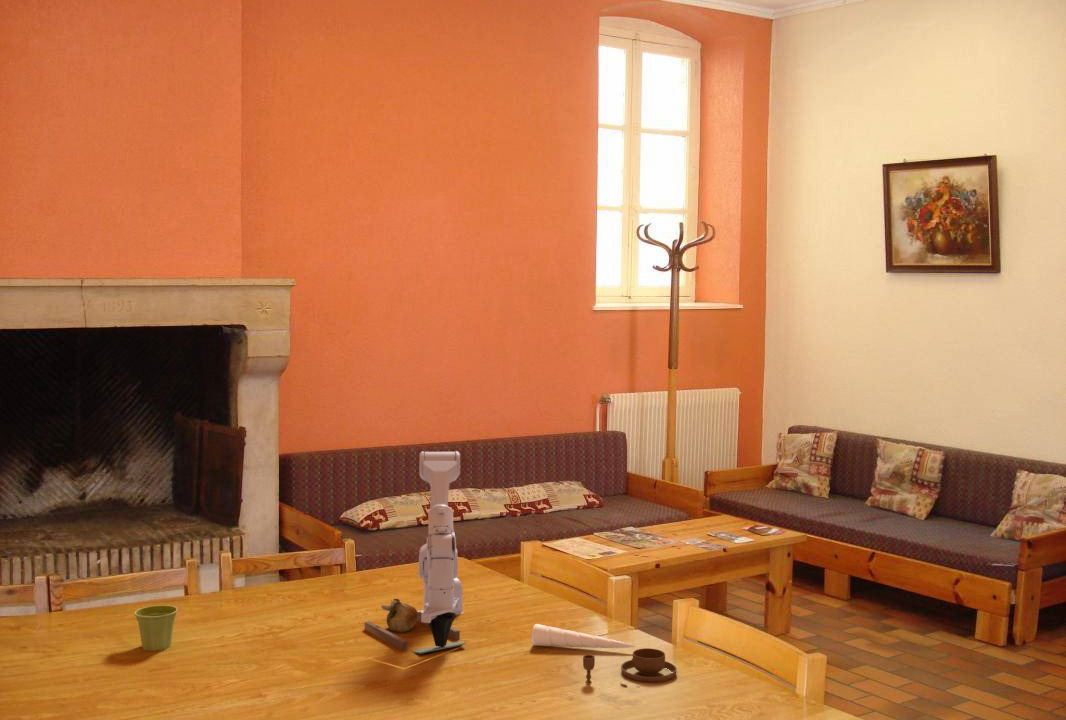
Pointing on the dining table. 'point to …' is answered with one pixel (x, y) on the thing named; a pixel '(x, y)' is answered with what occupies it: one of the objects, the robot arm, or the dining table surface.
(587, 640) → the unicorn horn
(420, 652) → the panel
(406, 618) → the onion
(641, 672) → the place setting
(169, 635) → the plant pot
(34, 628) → the dining table surface
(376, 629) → the cart frame
